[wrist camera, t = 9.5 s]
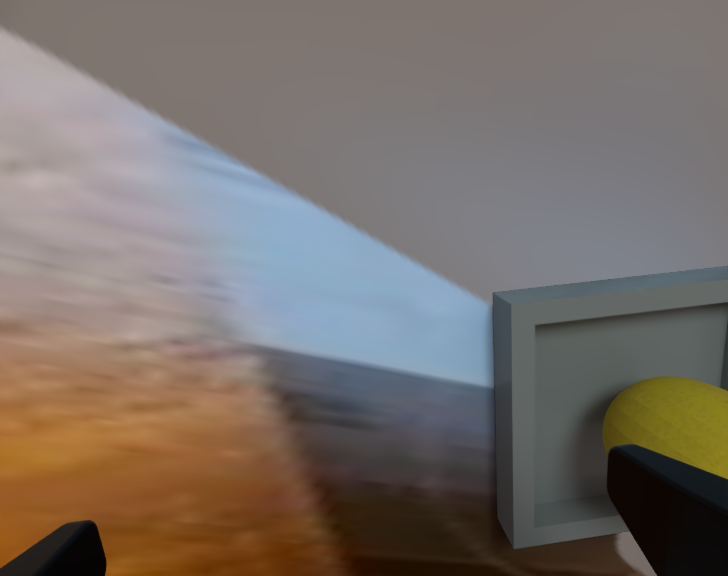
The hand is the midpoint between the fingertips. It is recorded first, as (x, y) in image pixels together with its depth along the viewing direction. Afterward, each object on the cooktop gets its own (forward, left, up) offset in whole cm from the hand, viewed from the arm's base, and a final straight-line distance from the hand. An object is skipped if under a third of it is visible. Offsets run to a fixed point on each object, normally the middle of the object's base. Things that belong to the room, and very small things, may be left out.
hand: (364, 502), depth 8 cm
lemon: (-6, -13, -12) cm, 18 cm away
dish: (-6, -13, -12) cm, 19 cm away
